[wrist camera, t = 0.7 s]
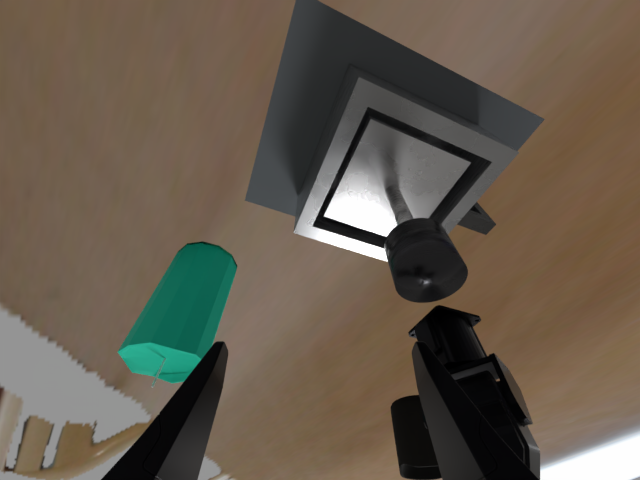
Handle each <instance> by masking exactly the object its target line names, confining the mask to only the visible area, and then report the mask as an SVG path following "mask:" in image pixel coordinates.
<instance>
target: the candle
mask: <svg viewBox="0 0 640 480" xmlns="http://www.w3.org/2000/svg"><path fill="white" fill-rule="evenodd" d="M236 270H237V264H236V262H235V260H234V258H233V256H232V254H230V253H229V252H227V251H226V250H225V249H223V248H222V247H220V246H219V245H215V244H211V243H207V242H203V241H201V242H194V243H187V244H186V245H185V246H184V247H183V248H181V249H180V250H179V251H178V252H177V254H176V256H175V257H174V259H173V261H172V262H171V264H170V266H169V267H168V269H167V271H166V272H165V274H164V276H163V277H162V279H161V281H160V282H159V284H158V286H157V287H156V289H155V290H154V292H153V294H152V295H151V297H150V299H149V300H148V302H147V304H146V305H145V307H144V309H143V310H142V312H141V314H140V315H139V317H138V319H137V320H136V322H135V324H134V325H133V327H132V329H131V330H130V332H129V334H128V335H127V337H126V339H125V340H124V342H123V344H122V345H121V347H120V349H119V350H118V353H119V355H120V356H121V357H122V359H123V360H124V362H125V363H126V365H127V366H128V367H129V369H130V370H131V372H132V373H138V374H143V375H148V376H153V377H155V379H154V381H153V384H152V386H151V387H154V385H155V382H156V380H157V378H159V379H161V380H164V381H167V382H169V383H179V382H184V381H185V380H186V378H187V377H188V376H189V375H190V373H191V372H192V371H193V369H194V368H195V367H196V366H197V364H198V363H199V362H200V361H201V359H202V358H203V357H204V355H205V354H206V353H207V352H208V350H209V349H210V348H211V347H212V345H213V342H214V339H215V336H216V333H217V330H218V326H219V323H220V320H221V317H222V314H223V311H224V308H225V305H226V302H227V299H228V296H229V293H230V289H231V286H232V283H233V280H234V277H235V274H236Z"/></svg>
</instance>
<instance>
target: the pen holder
mask: <svg viewBox="0 0 640 480" xmlns="http://www.w3.org/2000/svg"><path fill="white" fill-rule="evenodd" d="M391 417H392V424H393V431H394V438H395V444H396V451H397V458H398V464H399V471H400V475H401V476H402V477H403V478H406V479H411V480H435V479H440V478H442V476H441V473H440V469H439V465H438V462H437V458H436V454H435V451H434V447H433V444H432V440H431V436H430V433H429V431H428V429H427V428H426V427H425V425H424V421H423V417H422V408H421V400H420V397H419V395H411V396H406V397H402V398H399V399H397V400H395V401H394V402H393V403H392V405H391Z"/></svg>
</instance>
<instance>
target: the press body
mask: <svg viewBox="0 0 640 480" xmlns="http://www.w3.org/2000/svg"><path fill="white" fill-rule="evenodd" d="M369 116H371V117H373V118H375V119H377V120H380V121H382V122H384V123H387V124H389V125H391V126H393V127H396V128H398V129H400V130H403V131H405V132H407V133H409V134H412V135H414V136H416V137H419V138H421V139H423V140H425V141H428V142H430V143H432V144H435V145H437V146H439V147H441V148H444V149H446V150H448V151H451V152H453V153H455V154H457V155H460V156H462V157H464V158H467V159H468V160H469V161H470V162H471V164H470V165H469V166H468V168H467V169H466V170H465V172H464V173H463V174H462V175H461V177H460V178H459V179H458V181H457V182H456V183H455V184H454V186H453V187H452V188H451V190H450V191H449V192H448V193H447V195H446V196H445V197H444V199H443V200H442V201H441V202H440V204H439V205H438V206H437V208H436V209H435V210H434V212H433V213H432V214H431V215H430V217H429V219H433V220H435V221H437V222H439V223H440V224H441V225H442V226H443V227H444V229H445V231H446V232H447V234H449V233H450V232H451V231H452V229H453V228H454V227H455V226H456V225H460V226H462V227H465V228H468V229H471V230H473V231H476V232H479V233H482V234H484V235H487V234H488V233H489V232H490V231H491V230H492V228H493V227H494V226H495V225H496V223H495V222H494V221H493V220H492V219H491V218H490V216H489V215H488V214H487V213H486V212H485V211H484V209H483V208H482V207H481V206H480V205H479V204H478V203H477V201H478V199H479V198H480V197H481V196H482V195H483V194H484V193H485V191H486V190H487V189H488V188H489V187H490V186H491V184H492V183H493V182H494V181H495V180H496V179H497V178H498V176H499V175H500V174H501V173H502V172H503V171H504V170H505V168H506V167H507V166H508V165H509V164H510V163H511V161H512V160H513V159H514V158H515V157H516V156H517V155H518V153H519V152H518V151H517V150H515V149H514V148H512V147H511V146H509V145H508V144H506V143H505V142H503V141H502V140H500V139H499V138H497V137H496V136H494V135H493V134H491V133H490V132H488V131H487V130H485V129H484V128H482V127H481V126H479V125H477V124H475V123H473V122H471V121H469V120H467V119H465V118H463V117H461V116H458V115H456V114H454V113H452V112H450V111H448V110H446V109H444V108H442V107H440V106H438V105H435V104H433V103H431V102H429V101H427V100H425V99H423V98H421V97H419V96H417V95H415V94H412V93H410V92H408V91H406V90H404V89H402V88H400V87H398V86H396V85H394V84H392V83H389V82H387V81H385V80H383V79H381V78H379V77H377V76H375V75H373V74H371V73H369V72H366V71H364V70H362V69H360V68H358V67H356V66H354V65H352V64H349V66H348V69H347V71H346V74H345V76H344V79H343V81H342V84H341V87H340V89H339V92H338V94H337V97H336V99H335V102H334V105H333V107H332V110H331V112H330V115H329V117H328V120H327V122H326V125H325V128H324V130H323V133H322V135H321V138H320V140H319V143H318V146H317V148H316V151H315V153H314V156H313V158H312V161H311V163H310V166H309V169H308V171H307V174H306V176H305V179H304V181H303V184H302V187H301V189H300V192H299V194H298V198H297V207H296V215H295V224H294V233H295V234H298V235H302V236H305V237H308V238H312V239H315V240H318V241H321V242H325V243H328V244H331V245H335V246H338V247H341V248H345V249H348V250H351V251H355V252H358V253H361V254H364V255H368V256H371V257H374V258H378V259H381V260H384V261H387V257H386V254H385V250H384V243H385V239H386V236H383V235H379V234H376V233H373V232H370V231H367V230H364V229H361V228H358V227H355V226H352V225H349V224H346V223H343V222H340V221H336V220H333V219H330V218H327V217H324V209H325V207H326V205H327V203H328V201H329V199H330V197H331V195H332V193H333V191H334V188H335V186H336V184H337V182H338V180H339V178H340V176H341V174H342V172H343V170H344V167H345V165H346V163H347V161H348V159H349V157H350V155H351V153H352V151H353V149H354V146H355V144H356V142H357V140H358V138H359V136H360V134H361V132H362V130H363V128H364V126H365V123H366V121H367V119H368V117H369Z"/></svg>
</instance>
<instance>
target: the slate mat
mask: <svg viewBox="0 0 640 480" xmlns="http://www.w3.org/2000/svg"><path fill="white" fill-rule="evenodd" d="M349 64H352V65H354V66H356V67H358V68H360V69H362V70H364V71H366V72H369V73H371V74H373V75H375V76H377V77H379V78H381V79H383V80H385V81H387V82H389V83H392V84H394V85H396V86H398V87H400V88H402V89H404V90H406V91H408V92H410V93H412V94H415V95H417V96H419V97H421V98H423V99H425V100H427V101H429V102H431V103H433V104H435V105H438V106H440V107H442V108H444V109H446V110H448V111H450V112H452V113H454V114H456V115H458V116H461V117H463V118H465V119H467V120H469V121H471V122H473V123H475V124H477V125H479V126H481V127H482V128H484V129H485V130H487V131H488V132H490V133H491V134H493V135H494V136H496V137H497V138H499V139H500V140H502V141H503V142H505V143H506V144H508V145H509V146H511V147H512V148H514V149H515V150H517V151H518V150H519V149H520V148H521V146H522V145H523V144H524V143H525V142H526V141H527V139H528V138H529V137H530V136H531V135H532V134H533V132H534V131H535V130H536V129H537V128H538V127H539V126H540V124H541V123H542V122H543V121H544V120H545V119H544V118H542V117H540V116H538V115H536V114H534V113H532V112H530V111H528V110H526V109H525V108H523V107H521V106H519V105H517V104H515V103H513V102H511V101H509V100H507V99H505V98H503V97H502V96H500V95H498V94H496V93H494V92H492V91H490V90H488V89H486V88H484V87H482V86H481V85H479V84H477V83H475V82H473V81H471V80H469V79H467V78H465V77H463V76H461V75H459V74H458V73H456V72H454V71H452V70H450V69H448V68H446V67H444V66H442V65H440V64H438V63H436V62H435V61H433V60H431V59H429V58H427V57H425V56H423V55H421V54H419V53H417V52H415V51H413V50H412V49H410V48H408V47H406V46H404V45H402V44H400V43H398V42H396V41H394V40H392V39H390V38H389V37H387V36H385V35H383V34H381V33H379V32H377V31H375V30H373V29H371V28H369V27H368V26H366V25H364V24H362V23H360V22H358V21H356V20H354V19H352V18H350V17H348V16H346V15H345V14H343V13H341V12H339V11H337V10H335V9H333V8H331V7H329V6H327V5H325V4H323V3H322V2H320V1H318V0H296V1H295V5H294V9H293V13H292V17H291V21H290V25H289V29H288V33H287V37H286V41H285V44H284V48H283V52H282V56H281V60H280V64H279V68H278V72H277V76H276V80H275V84H274V88H273V91H272V95H271V99H270V103H269V107H268V111H267V115H266V119H265V123H264V127H263V131H262V135H261V139H260V142H259V146H258V150H257V154H256V158H255V162H254V166H253V170H252V174H251V178H250V182H249V186H248V190H247V193H246V197H245V201H248V202H251V203H254V204H257V205H260V206H263V207H267V208H270V209H273V210H276V211H279V212H282V213H286V214H289V215H292V216H295V215H296V207H297V198H298V194H299V192H300V189H301V187H302V184H303V181H304V179H305V176H306V174H307V171H308V169H309V166H310V163H311V161H312V158H313V156H314V153H315V151H316V148H317V146H318V143H319V140H320V138H321V135H322V133H323V130H324V128H325V125H326V122H327V120H328V117H329V115H330V112H331V110H332V107H333V105H334V102H335V99H336V97H337V94H338V92H339V89H340V87H341V84H342V81H343V79H344V76H345V74H346V71H347V69H348V66H349Z"/></svg>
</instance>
